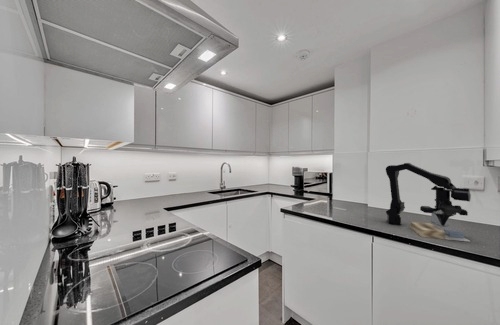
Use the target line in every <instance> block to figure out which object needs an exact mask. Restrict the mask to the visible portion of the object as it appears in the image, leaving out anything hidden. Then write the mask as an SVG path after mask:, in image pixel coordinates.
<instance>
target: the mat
mask: <svg viewBox="0 0 500 325" xmlns="http://www.w3.org/2000/svg"><path fill="white" fill-rule="evenodd" d="M441 230H442V229H441ZM442 231H444V229H443V230H442ZM444 240H449V241H461V242H471V240H469V239H468V238H465V237H464V238H455V237H449V236H448V235H446V234H445V239H444Z"/></svg>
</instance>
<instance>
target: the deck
mask: <svg viewBox="0 0 500 325" xmlns="http://www.w3.org/2000/svg"><path fill="white" fill-rule="evenodd" d="M410 229H411V230H412V231H414V232H415V233H416V234H417V235H419V236H420V237H422V238H430V239H441V240H446V239H445V232H444V231H442V229H440V228H439V227H438V226H435V225H434V224H432V223H429V222H417V221H416V222H415V221H410Z"/></svg>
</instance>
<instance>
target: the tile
mask: <svg viewBox="0 0 500 325" xmlns="http://www.w3.org/2000/svg"><path fill="white" fill-rule="evenodd" d="M443 230H444V232H445V234H446V235H448V236H449V237H455V238H465V233H463V232H462V231H460V230H458V229H450V228H449V229H448V228H443Z"/></svg>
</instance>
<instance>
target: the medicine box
mask: <svg viewBox="0 0 500 325" xmlns="http://www.w3.org/2000/svg"><path fill="white" fill-rule="evenodd" d="M431 223H433V224H436V225H439V226H441V227H443V225H441V223H440V221H439V219H438V218H437V216H436V215H435V214H434V213H431ZM448 226H449V219H448V220H447V221H446V223H445V225H444V227H448Z"/></svg>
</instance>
